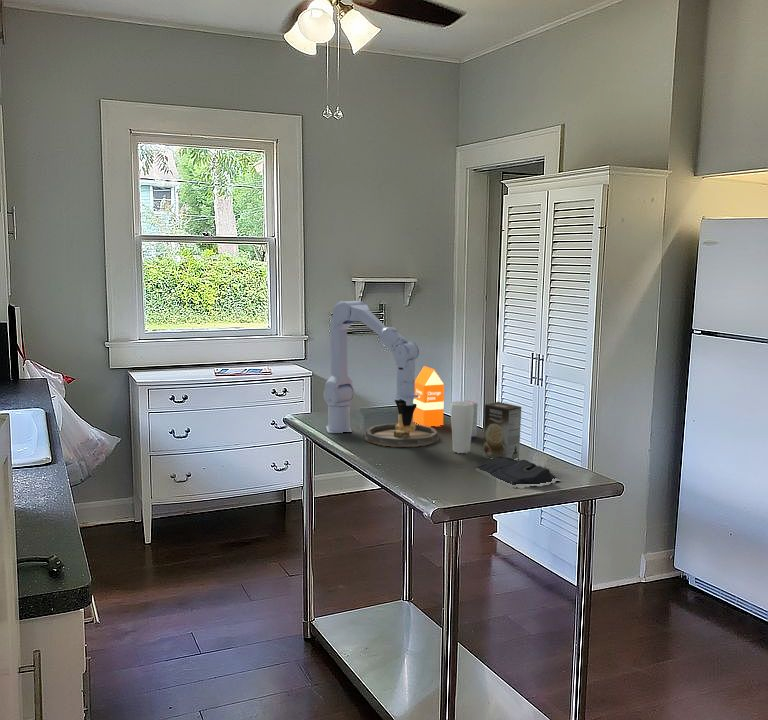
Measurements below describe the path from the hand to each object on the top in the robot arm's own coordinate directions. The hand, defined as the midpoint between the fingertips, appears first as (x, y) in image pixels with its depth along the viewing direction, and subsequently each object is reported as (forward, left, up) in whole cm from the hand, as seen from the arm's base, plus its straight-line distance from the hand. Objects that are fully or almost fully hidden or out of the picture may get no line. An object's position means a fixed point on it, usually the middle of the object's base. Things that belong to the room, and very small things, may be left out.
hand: (405, 423), depth 246 cm
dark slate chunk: (+39, +23, -7) cm, 46 cm away
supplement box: (-6, +21, -6) cm, 23 cm away
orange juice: (-26, +13, -6) cm, 30 cm away
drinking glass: (+13, +15, -6) cm, 21 cm away
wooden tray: (-6, 0, -6) cm, 9 cm away
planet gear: (0, 0, -2) cm, 2 cm away
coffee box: (+22, +25, -6) cm, 33 cm away
